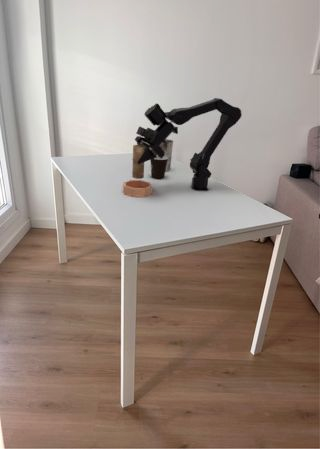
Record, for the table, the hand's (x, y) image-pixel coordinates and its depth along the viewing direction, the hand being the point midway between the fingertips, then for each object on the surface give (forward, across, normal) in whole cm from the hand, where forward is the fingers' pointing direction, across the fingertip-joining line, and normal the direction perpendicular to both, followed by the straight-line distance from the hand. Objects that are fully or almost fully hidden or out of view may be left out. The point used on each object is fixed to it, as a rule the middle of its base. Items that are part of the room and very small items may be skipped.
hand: (135, 161), depth 132 cm
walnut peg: (+4, 0, +6) cm, 7 cm away
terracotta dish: (+8, 0, +10) cm, 13 cm away
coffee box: (-10, -30, +30) cm, 44 cm away
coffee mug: (-5, -19, +24) cm, 31 cm away
